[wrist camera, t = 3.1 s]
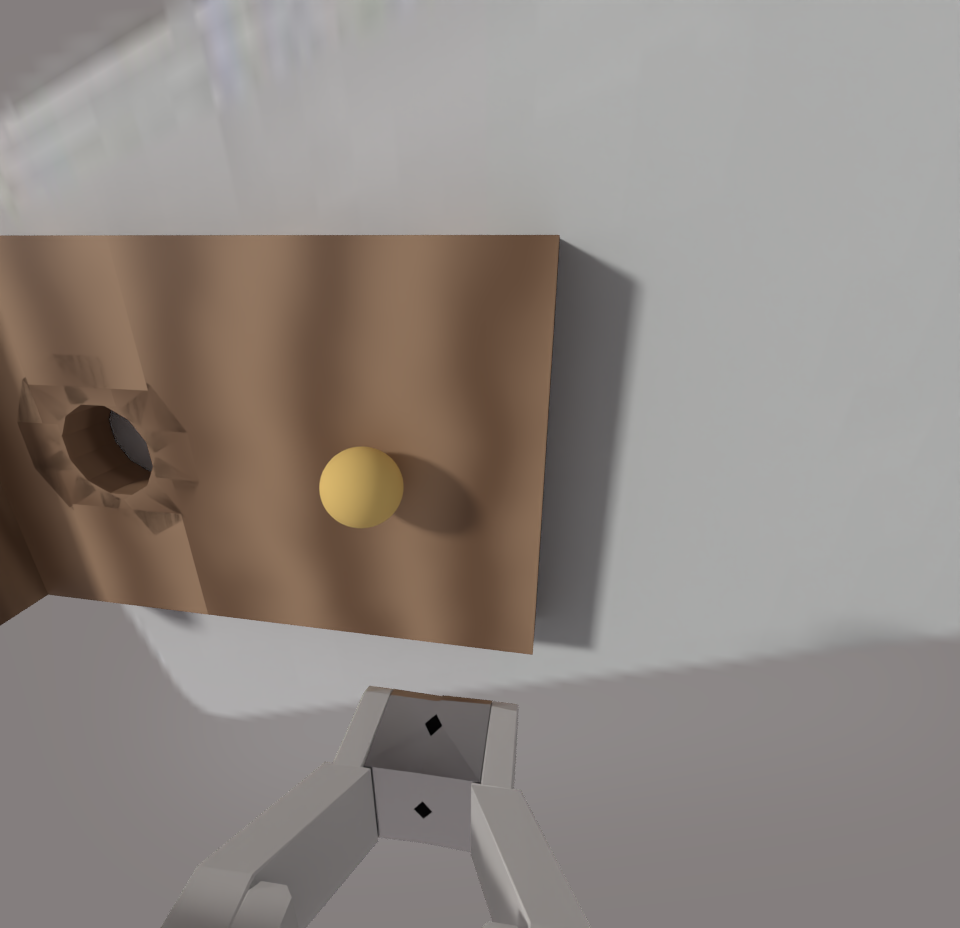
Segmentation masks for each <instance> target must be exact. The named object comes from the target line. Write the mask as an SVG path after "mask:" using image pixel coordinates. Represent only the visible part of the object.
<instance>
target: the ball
mask: <svg viewBox="0 0 960 928" xmlns="http://www.w3.org/2000/svg"><path fill="white" fill-rule="evenodd" d="M319 491H320V497H321V500H322V503H323V505H324V508H325V509H326V511H327V512H328V513H329V514H330V515H331V516H332V517H333V518H334V519H335V520H336V521H338V522H339V523H341V524H343V525H346V526H349V527H353V528H369V527H374V526H376V525H379V524H381V523H383V522H384V521H386V520H387V519H388V518H390V517H391V516H392V515H393V514H394V512H395V511H396V510H397V508H398V506H399V504H400V502H401V499H402V496H403V478H402V474H401V472H400V470H399V468H398V466H397V464H396V463H395V462H394V461H393V459H392V458H391V457H389V456H388V455H387V454H385V453H384V452H382V451H380V450H378V449H375V448H371V447H352V448H349V449H346V450H344V451H342V452H340V453H338V454H337V455H335V456H334V457H333V458H332V459H331V460H330V461H329V462H328V464H327V465H326V467H325V468H324V470H323V472H322V475H321V479H320V485H319Z"/></svg>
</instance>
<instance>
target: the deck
mask: <svg viewBox="0 0 960 928" xmlns="http://www.w3.org/2000/svg"><path fill="white" fill-rule="evenodd" d="M559 244H560V236H559V235H128V236H0V625H2V624H3V623H5V622H6V621H8V620H10V619H11V618H12V617H14V616H15V615H17V614H19V613H20V612H21V611H23V610H25V609H27V608H28V607H30V606H31V605H33V604H34V603H36V602H37V601H38V600H40V599H42V598H43V597H45V596H47V595H48V594H49V595H57V596H65V597H73V598H81V599H88V600H97V601H105V602H113V603H121V604H129V605H137V606H145V607H153V608H161V609H169V610H177V611H185V612H193V613H201V614H209V615H217V616H225V617H233V618H241V619H249V620H257V621H266V622H274V623H282V624H290V625H298V626H306V627H314V628H322V629H330V630H338V631H346V632H354V633H362V634H370V635H378V636H386V637H394V638H402V639H410V640H419V641H427V642H435V643H443V644H451V645H459V646H467V647H475V648H483V649H491V650H499V651H507V652H515V653H523V654H531V655H532V654H533V642H534V629H535V616H536V600H537V585H538V569H539V554H540V538H541V523H542V507H543V492H544V476H545V461H546V445H547V430H548V414H549V399H550V383H551V368H552V352H553V337H554V321H555V306H556V290H557V275H558V259H559ZM111 410H112V411H114V412H116V413H117V414H119V415H121V416H122V417H124V418H126V419H128V420H129V421H130V423H131V424H132V425H133V426H134V428H135V429H136V430H137V431H138V433H139V434H140V435H141V436H142V438H143V439H144V440H145V441H146V443H147V447H148V450H149V454H150V458H151V461H152V465H153V468H152V472H149V471H148V470H146V469H144V468H142V467H141V466H139V465H137V464H135V463H134V462H132V461H130V459H129V458H128V457H127V456H126V455H125V453H124V452H123V451H122V450H121V448H120V447H119V446H118V445H117V444H116V442H115V440H114V437H113V433H112V430H111V427H110V424H109V415H110V411H111ZM352 447H371V448H375V449H378V450H380V451H382V452H384V453H385V454H387V455H388V456H389V457H391V458H392V459H393V461H394V462H395V463H396V464H397V466H398V468H399V470H400V472H401V474H402V478H403V496H402V499H401V502H400V504H399V506H398V508H397V510H396V511H395V512H394V514H393V515H392V516H391V517H390V518H388V519H387V520H386V521H384V522H383V523H381V524H379V525H376V526H374V527H369V528H353V527H349V526H346V525H343V524H341V523H339V522H338V521H336V520H335V519H334V518H333V517H332V516H331V515H330V514H329V513H328V512H327V511H326V509H325V508H324V505H323V503H322V500H321V497H320V491H319V485H320V479H321V475H322V472H323V470H324V468H325V467H326V465H327V464H328V462H329V461H330V460H331V459H332V458H333V457H334V456H335V455H337V454H338V453H340V452H342V451H344V450H346V449H349V448H352Z"/></svg>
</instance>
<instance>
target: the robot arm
mask: <svg viewBox="0 0 960 928" xmlns="http://www.w3.org/2000/svg"><path fill="white" fill-rule="evenodd" d="M518 711H519V707H518V704H511V703H503V702H495V701H493V702H492V701H490V700H480V699H471V698H462V697H453V696H437V695H430V694H424V693H417V692H410V691H404V690H397V689H389V688H382V687H374V686H369V687H368V688H367V689H366V691H365V692H364V693H363V695H362V698H361V700H360V702H359V704H358V707H357V709H356V711H355V714H354V716H353V718H352V720H351V723H350V725H349V727H348V729H347V732H346V734H345V736H344V738H343V741H342V743H341V745H340V748H339V750H338V752H337V754H336V757H335V759H334V761H333V763H330V762H325V763H323V764H322V765H321V766H320V767H318V768H317V769H316V770H315V771H313V772H312V773H311V774H310V775H309V776H307V777H306V778H305V779H304V780H302V781H301V782H300V783H299V784H298V785H296V786H295V787H294V788H293V789H292V790H290V791H289V792H288V793H286V794H285V795H284V796H283V797H281V798H280V799H279V800H278V801H277V802H275V803H274V804H273V805H272V806H270V807H269V808H268V809H267V810H265V811H264V812H263V813H262V814H261V815H259V816H258V817H257V818H256V819H255V820H253V821H252V822H251V823H249V824H248V825H247V826H246V827H245V828H243V829H242V830H241V831H240V832H238V833H237V834H236V835H235V836H234V837H232V838H231V839H230V840H229V841H227V842H226V843H225V844H224V845H223V846H221V847H220V848H219V849H218V850H216V851H215V852H214V853H213V854H211V855H210V856H209V857H208V858H207V859H205V860H204V861H203V862H202V863H200V864H199V865H198V866H197V867H196V869H195V871H194V872H193V874H192V876H191V878H190V879H189V881H188V883H187V884H186V886H185V888H184V889H183V891H182V893H181V894H180V896H179V898H178V899H177V901H176V903H175V904H174V906H173V908H172V910H171V911H170V913H169V915H168V916H167V918H166V920H165V921H164V923H163V925H162V926H161V928H306V927H307V926H308V925H309V924H310V922H311V921H312V920H313V919H314V918H315V916H316V915H317V914H318V913H319V912H320V910H321V909H322V908H323V907H324V906H325V904H326V903H327V902H328V901H329V900H330V898H331V897H332V896H333V895H334V894H335V892H336V891H337V890H338V888H339V887H340V886H341V885H342V884H343V883H344V882H345V880H346V879H347V878H348V877H349V876H350V874H351V873H352V872H353V871H354V870H355V868H356V867H357V866H358V865H359V864H360V862H361V861H362V860H363V859H364V858H365V856H366V855H367V854H368V853H369V852H370V850H371V849H372V848H373V847H374V846H375V844H376V843H377V842H378V837H379V838H386V839H394V840H403V841H410V842H418V843H425V844H431V845H436V846H441V847H446V848H451V849H456V850H462V851H467V852H471V857H472V860H473V863H474V866H475V869H476V872H477V875H478V879H479V881H480V884H481V888H482V891H483V894H484V897H485V900H486V903H487V906H488V909H489V912H490V915H491V918H492V922H489V921H488V922H487V923H486V924H485V925H484V926H483V927H482V928H591V927H590V925H589V923H588V921H587V919H586V917H585V915H584V913H583V911H582V909H581V907H580V905H579V903H578V901H577V899H576V897H575V895H574V893H573V892H572V889H571V887H570V885H569V883H568V881H567V879H566V878H565V875H564V873H563V872H562V870H561V868H560V866H559V864H558V862H557V860H556V858H555V856H554V854H553V852H552V850H551V848H550V846H549V844H548V842H547V840H546V838H545V837H544V834H543V832H542V830H541V828H540V827H539V824H538V822H537V820H536V819H535V816H534V814H533V812H532V811H531V809H530V807H529V805H528V803H527V801H526V799H525V797H524V795H523V793H522V791H521V790H518V789H514V780H515V763H516V746H517V729H518Z"/></svg>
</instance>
